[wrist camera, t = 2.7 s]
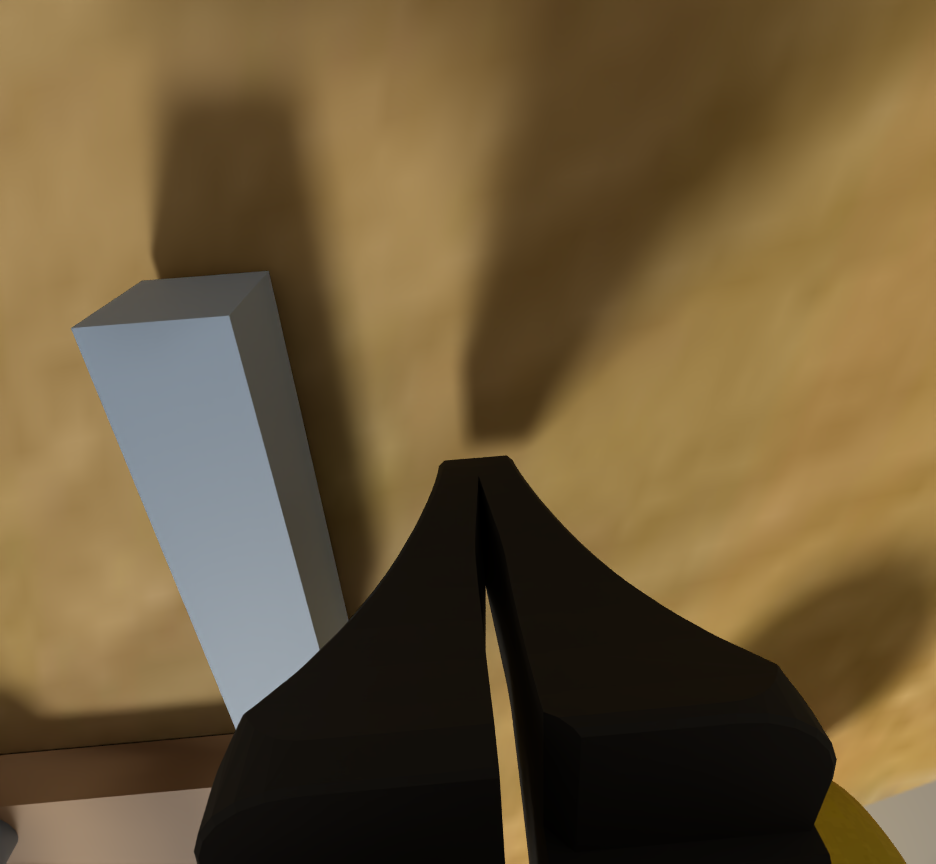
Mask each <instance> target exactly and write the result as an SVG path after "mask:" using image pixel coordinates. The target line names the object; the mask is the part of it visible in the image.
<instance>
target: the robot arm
mask: <svg viewBox="0 0 936 864" xmlns="http://www.w3.org/2000/svg"><path fill="white" fill-rule="evenodd" d="M486 589H487V594H488V599H489V604H490V608H491V613H492V617H493V622H494V627H495V631H496V636H497V641H498V645H499V650H500V654H501V659H502V664H503V668H504V673H505V677H506V682H507V687H508V693H509V699H510V704H511V711H512V719H513V728H514V736H515V744H516V753H517V761H518V769H519V778H520V786H521V795H522V803H523V812H524V821H525V829H526V838H527V847H528V856H529V864H832V862H831V858H830V854H829V852H828V850H827V848H826V846H825V844H824V842H823V840H822V838H821V836H820V835H819V833H818V831H817V829H816V827H815V825H814V823H815V821H816V818H817V816H818V813H819V811H820V809H821V806H822V804H823V801H824V799H825V796H826V794H827V792H828V789H829V787H830V784H831V782H832V779H833V775H834V770H835V765H836V760H837V759H836V756H835V753H834V749H833V746H832V743H831V741H830V739H829V738H828V736H827V735H826V733H825V731H824V730H823V728H822V726H821V725H820V723H819V722H818V720H817V718H816V717H815V715H814V713H813V712H812V710H811V709H810V708H809V706H808V705H807V703H806V702H805V701H804V699H803V698H802V696H801V695H800V693H799V692H798V691H797V690H796V688H795V687H794V686H793V685H792V683H791V682H790V681H789V680H788V678H787V677H786V676H785V674H784V673H783V672H782V670H781V669H780V667H779V666H778V665H777V664H775V663H773V662H770V661H768V660H766V659H764V658H762V657H760V656H758V655H755V654H753V653H751V652H749V651H747V650H745V649H743V648H741V647H738V646H736V645H734V644H732V643H730V642H728V641H726V640H724V639H721V638H719V637H717V636H715V635H713V634H711V633H709V632H708V631H706V630H704V629H702V628H700V627H699V626H697V625H695V624H693V623H691V622H690V621H688V620H686V619H684V618H682V617H681V616H679V615H677V614H675V613H674V612H672V611H671V610H669V609H667V608H666V607H664V606H662V605H661V604H659V603H658V602H656V601H655V600H653V599H652V598H650V597H649V596H647V595H646V594H644V593H643V592H641V591H640V590H638V589H637V588H635V587H634V586H632V585H631V584H629V583H628V582H627V581H625V580H624V579H623V578H621V577H620V576H619V575H617V574H616V573H615V572H614V571H612V570H611V569H610V568H609V567H608V566H606V565H605V564H604V563H603V562H601V561H600V560H599V559H598V558H597V557H596V556H594V555H593V554H592V553H591V552H590V551H589V550H588V549H587V548H586V547H585V546H583V545H582V544H581V543H580V542H579V541H578V540H577V539H576V538H575V537H574V536H573V535H572V534H571V533H570V532H569V531H568V530H567V529H566V528H565V527H564V526H563V525H562V524H561V522H560V521H559V520H558V519H557V518H556V517H555V516H554V515H553V514H552V512H551V511H550V510H549V509H548V508H547V507H546V506H545V504H544V503H543V502H542V501H541V500H540V499H539V497H538V496H537V495H536V494H535V492H534V491H533V490H532V488H531V487H530V486H529V484H528V483H527V482H526V480H525V479H524V478H523V476H522V475H521V473H520V472H519V470H518V469H517V467H516V466H515V464H514V462H513V460H512V459H510V458H509V457H508V456H495V457H483V458H471V459H458V460H446V461H444V462H443V463H442V464H441V465H440V466H439V469H438V474H437V477H436V481H435V484H434V486H433V489H432V492H431V494H430V496H429V499H428V501H427V503H426V505H425V508H424V510H423V512H422V514H421V516H420V518H419V520H418V522H417V524H416V526H415V528H414V530H413V531H412V533H411V535H410V537H409V538H408V540H407V542H406V543H405V545H404V547H403V549H402V550H401V552H400V554H399V555H398V557H397V558H396V560H395V561H394V563H393V564H392V566H391V567H390V569H389V570H388V572H387V573H386V575H385V576H384V577H383V579H382V580H381V581H380V583H379V584H378V586H377V587H376V588H375V590H374V591H373V592H372V593H371V595H370V596H369V597H368V598H367V599H366V601H365V602H364V603H363V604H362V605H361V607H360V608H359V609H358V610H357V611H356V613H355V614H354V615H353V616H352V617H351V618H350V620H349V621H348V622H347V623H346V624H345V625H344V626H343V627H342V628H341V629H340V630H339V632H338V633H337V634H336V635H335V636H333V637H332V638H331V639H330V640H329V641H328V642H327V643H326V644H325V645H324V646H323V647H322V648H321V649H320V650H319V651H318V652H317V653H316V654H315V655H314V656H313V657H312V658H311V659H310V660H309V661H308V662H307V663H306V664H305V665H304V666H303V667H302V668H300V669H299V670H298V671H297V672H296V673H295V674H294V675H292V676H291V677H290V678H289V679H287V680H286V681H285V682H284V683H282V684H281V685H280V686H279V687H277V688H276V689H275V690H274V691H272V692H271V693H270V694H269V695H267V696H266V697H265V698H264V699H262V700H261V701H260V702H259V703H258V704H256V705H255V706H254V707H252V708H251V709H250V710H248V711H247V712H246V713H244V714H243V716H242V718H241V720H240V722H239V724H238V726H237V728H236V730H235V732H234V735H233V737H232V739H231V741H230V743H229V745H228V748H227V750H226V753H225V755H224V757H223V759H222V761H221V764H220V766H219V768H218V771H217V773H216V776H215V779H214V782H213V785H212V788H211V791H210V795H209V798H208V801H207V805H206V808H205V811H204V815H203V818H202V821H201V825H200V828H199V831H198V835H197V839H196V844H195V848H194V855H195V858H196V861H197V864H505V855H504V839H503V823H502V807H501V791H500V776H499V765H498V755H497V745H496V736H495V726H494V717H493V709H492V701H491V693H490V685H489V676H488V668H487V660H486Z"/></svg>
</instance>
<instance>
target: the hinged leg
mask: <svg viewBox="0 0 936 864" xmlns="http://www.w3.org/2000/svg"><path fill="white" fill-rule="evenodd" d="M71 329H72V332H73V334H74V337H75V339H76V342H77V344H78V346H79V349H80V351H81V354H82V356H83V359H84V361H85V363H86V366H87V368H88V371H89V373H90V376H91V378H92V381H93V383H94V385H95V388H96V390H97V393H98V395H99V398H100V400H101V402H102V405H103V407H104V410H105V412H106V415H107V417H108V419H109V422H110V424H111V427H112V429H113V432H114V434H115V437H116V439H117V441H118V444H119V446H120V449H121V451H122V454H123V456H124V458H125V461H126V463H127V466H128V468H129V471H130V473H131V475H132V478H133V480H134V483H135V485H136V488H137V490H138V493H139V495H140V497H141V500H142V502H143V505H144V507H145V510H146V512H147V514H148V517H149V519H150V522H151V524H152V527H153V529H154V531H155V534H156V536H157V539H158V541H159V544H160V546H161V548H162V551H163V553H164V556H165V558H166V561H167V563H168V566H169V568H170V570H171V573H172V575H173V578H174V580H175V583H176V585H177V587H178V590H179V592H180V595H181V597H182V600H183V602H184V604H185V607H186V609H187V612H188V614H189V617H190V619H191V622H192V624H193V626H194V629H195V631H196V634H197V636H198V639H199V641H200V643H201V646H202V648H203V651H204V653H205V656H206V658H207V660H208V663H209V665H210V668H211V670H212V673H213V675H214V678H215V680H216V682H217V685H218V687H219V690H220V692H221V695H222V697H223V699H224V702H225V704H226V707H227V709H228V712H229V714H230V716H231V719H232V721H233V724H234V726H235V729H236V728H237V726H238V724H239V722H240V720H241V718H242V716H243V714H244V713H246V712H247V711H248V710H250V709H251V708H252V707H254V706H255V705H256V704H258V703H259V702H260V701H261V700H262V699H264V698H265V697H266V696H267V695H269V694H270V693H271V692H272V691H274V690H275V689H276V688H277V687H279V686H280V685H281V684H282V683H284V682H285V681H286V680H287V679H289V678H290V677H291V676H292V675H294V674H295V673H296V672H297V671H298V670H299V669H300V668H302V667H303V666H304V665H305V664H306V663H307V662H308V661H309V660H310V659H311V658H312V657H313V656H314V655H315V654H316V653H317V652H318V651H319V650H320V649H321V648H322V647H323V646H324V645H325V644H326V643H327V642H328V641H329V640H330V639H331V638H332V637H333V636H335V635H336V634H337V633H338V632H339V630H340V629H341V628H342V627H343V626H344V625H345V624H346V623H347V622H348V616H347V612H346V608H345V603H344V599H343V594H342V590H341V586H340V581H339V577H338V573H337V568H336V564H335V559H334V555H333V551H332V546H331V542H330V537H329V533H328V529H327V524H326V520H325V516H324V511H323V507H322V502H321V498H320V494H319V489H318V485H317V480H316V476H315V472H314V467H313V463H312V459H311V454H310V450H309V445H308V441H307V437H306V432H305V428H304V423H303V419H302V415H301V410H300V406H299V402H298V397H297V393H296V388H295V384H294V380H293V375H292V371H291V366H290V362H289V358H288V353H287V349H286V345H285V340H284V336H283V331H282V327H281V323H280V318H279V314H278V309H277V305H276V301H275V296H274V292H273V288H272V283H271V279H270V274H269V271H260V272H247V273H234V274H222V275H209V276H196V277H183V278H170V279H157V280H144V281H141V282H139V283H138V284H136V285H135V286H133V287H132V288H130V289H129V290H127V291H126V292H124V293H123V294H121V295H120V296H118V297H117V298H115V299H114V300H112V301H111V302H109V303H108V304H106V305H105V306H103V307H102V308H100V309H99V310H97V311H96V312H94V313H93V314H91V315H90V316H88V317H87V318H85V319H84V320H82V321H81V322H79V323H78V324H76V325H75V326H73V327H72V328H71Z"/></svg>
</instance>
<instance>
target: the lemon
mask: <svg viewBox="0 0 936 864" xmlns="http://www.w3.org/2000/svg"><path fill="white" fill-rule="evenodd" d="M814 825H815V827H816V829H817V831H818V833H819V835H820V836H821V838H822V840H823V842H824V844H825V846H826V848H827V850H828V852H829V854H830V858H831V862H832V864H906V862H905V861H904V859H903V857H902V856H901V854H900V853H899V851H898V850H897V849H896V847H895V846H894V845H893V843H892V842H891V840H890V839H889V838H888V836H887V835H886V834H885V833H884V831H883V830H882V829H881V827H880V826H879V825H878V824H877V823H876V821H875V820H874V819H873V818H872V816H871V815H870V814H869V813H868V812H867V811H866V810H865V809H864V807H863V806H862V805H861V804H860V803H859V802H858V801H857V800H856V799H855V798H854V797H852V796H851V795H850V794H849V793H848V792H847V791H846V790H845V789H843V788H842V787H841V786H839V785H838V784H836V783H835V782H833V781H832V782H831V784H830V787H829V789H828V792H827V794H826V796H825V799H824V801H823V804H822V806H821V809H820V811H819V813H818V816H817V818H816V821H815V823H814Z"/></svg>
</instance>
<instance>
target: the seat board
mask: <svg viewBox="0 0 936 864" xmlns="http://www.w3.org/2000/svg"><path fill="white" fill-rule="evenodd" d="M233 735H234V734H229V735H218V736H207V737H196V738H185V739H174V740H163V741H152V742H141V743H130V744H119V745H108V746H97V747H86V748H74V749H63V750H52V751H41V752H30V753H19V754H8V755H0V864H197V861H196V858H195V855H194V848H195V844H196V839H197V835H198V831H199V828H200V825H201V821H202V818H203V815H204V811H205V808H206V805H207V801H208V798H209V795H210V791H211V788H212V785H213V782H214V779H215V776H216V773H217V771H218V768H219V766H220V764H221V761H222V759H223V757H224V755H225V753H226V750H227V748H228V745H229V743H230V741H231V739H232V737H233Z"/></svg>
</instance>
